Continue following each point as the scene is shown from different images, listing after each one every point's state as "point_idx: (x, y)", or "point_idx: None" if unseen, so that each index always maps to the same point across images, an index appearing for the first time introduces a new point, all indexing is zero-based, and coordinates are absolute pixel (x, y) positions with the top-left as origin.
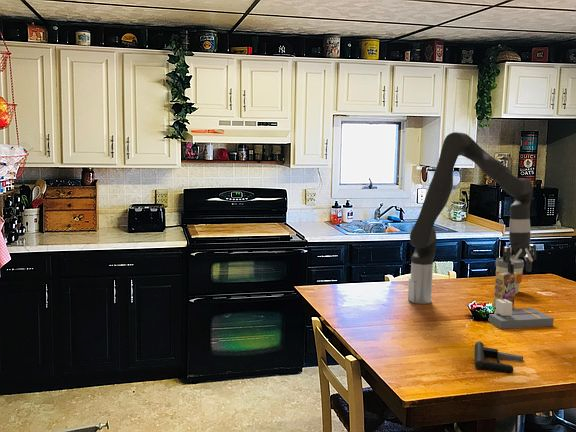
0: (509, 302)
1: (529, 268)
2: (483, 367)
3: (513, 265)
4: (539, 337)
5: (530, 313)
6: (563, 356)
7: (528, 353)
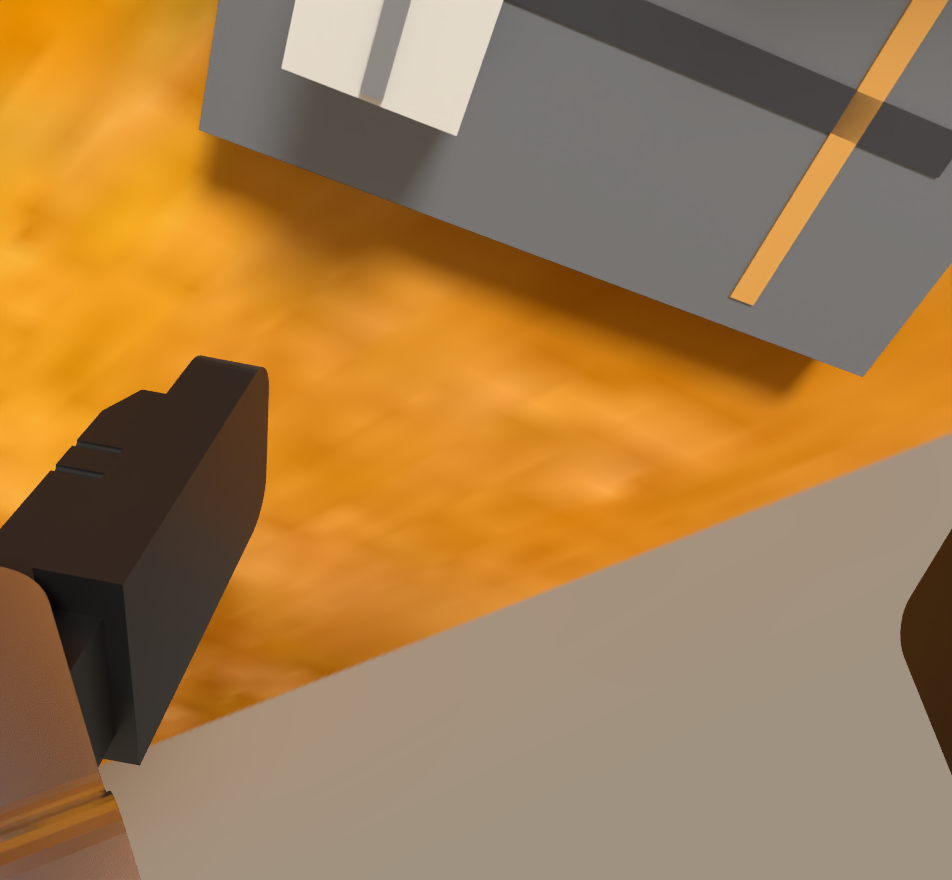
0: (421, 98)
1: (931, 698)
2: None
3: (139, 721)
4: (393, 442)
5: (837, 118)
6: (234, 675)
7: None
